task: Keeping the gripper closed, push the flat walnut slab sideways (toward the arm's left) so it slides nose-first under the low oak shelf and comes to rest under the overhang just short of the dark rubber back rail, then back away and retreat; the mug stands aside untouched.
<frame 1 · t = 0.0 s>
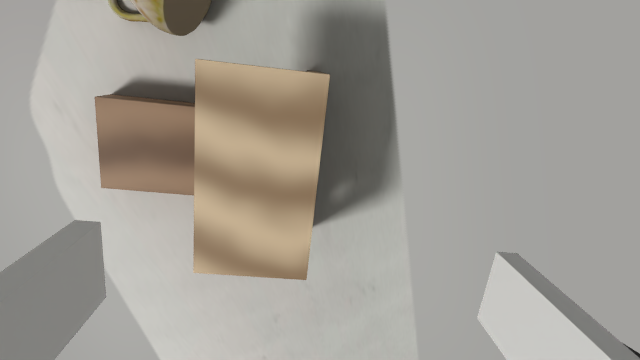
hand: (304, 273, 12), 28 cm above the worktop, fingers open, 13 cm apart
shelf: (266, 152, 39), on the worktop
slab: (164, 141, 39), on the worktop
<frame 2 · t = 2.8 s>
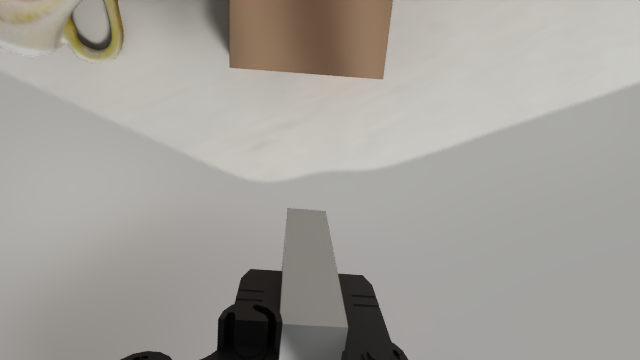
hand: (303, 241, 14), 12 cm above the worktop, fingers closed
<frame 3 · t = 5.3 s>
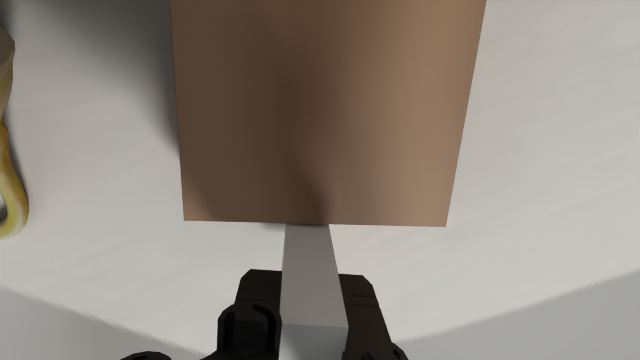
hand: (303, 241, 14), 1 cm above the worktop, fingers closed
slab: (320, 69, 14), on the worktop, touching gripper
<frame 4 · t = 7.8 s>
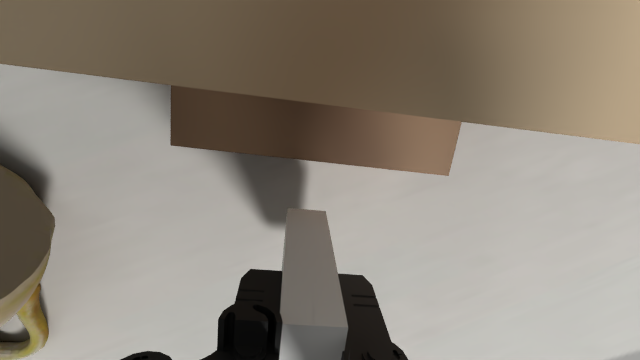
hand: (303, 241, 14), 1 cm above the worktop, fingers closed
slab: (326, 8, 13), on the worktop
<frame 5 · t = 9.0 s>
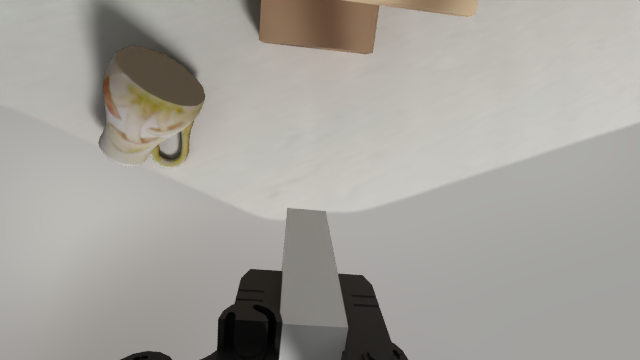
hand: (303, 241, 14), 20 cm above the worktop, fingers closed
mug: (160, 113, 33), on the worktop
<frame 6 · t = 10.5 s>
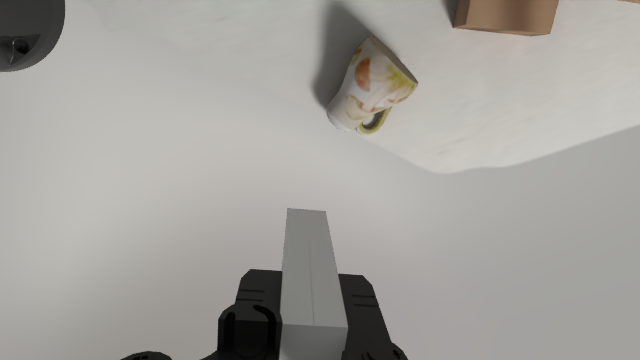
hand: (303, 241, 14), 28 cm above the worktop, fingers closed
mug: (363, 91, 41), on the worktop
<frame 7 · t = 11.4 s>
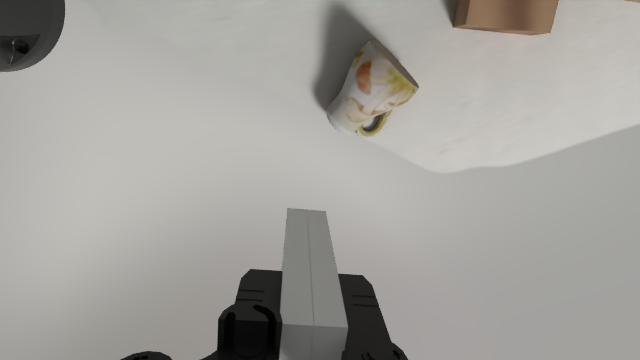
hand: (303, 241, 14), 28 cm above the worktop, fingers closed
mug: (363, 93, 41), on the worktop
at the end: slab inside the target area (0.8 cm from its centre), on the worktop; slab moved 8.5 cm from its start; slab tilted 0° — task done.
